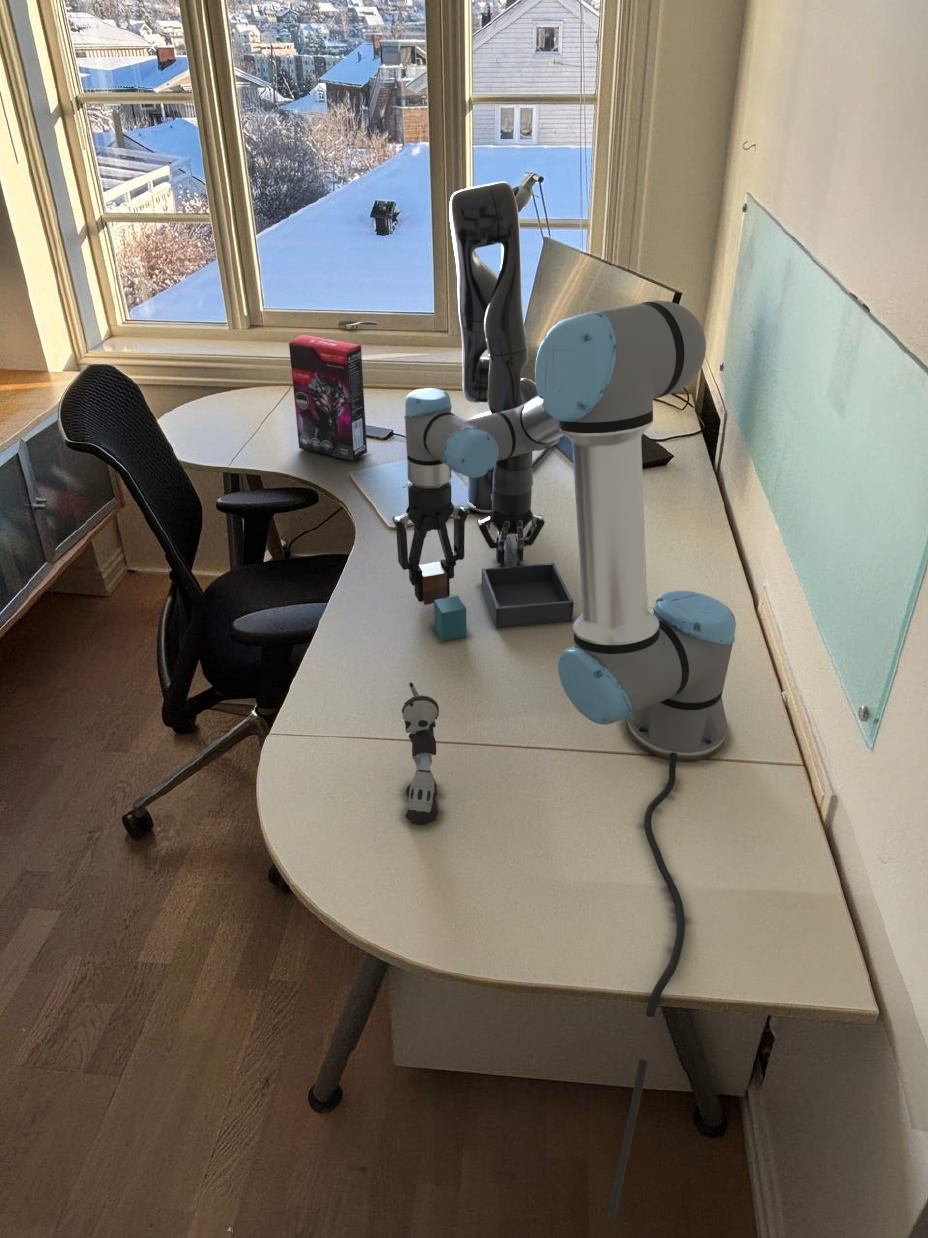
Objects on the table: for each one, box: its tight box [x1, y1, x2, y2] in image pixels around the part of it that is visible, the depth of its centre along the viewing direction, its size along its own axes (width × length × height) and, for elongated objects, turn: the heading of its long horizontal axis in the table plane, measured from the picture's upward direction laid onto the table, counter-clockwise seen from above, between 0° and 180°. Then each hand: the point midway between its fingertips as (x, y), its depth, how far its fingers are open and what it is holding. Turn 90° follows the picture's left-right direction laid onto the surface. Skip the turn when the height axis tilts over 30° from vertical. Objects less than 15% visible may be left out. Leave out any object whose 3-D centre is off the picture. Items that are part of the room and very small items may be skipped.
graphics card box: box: [288, 334, 368, 462], centre depth 223 cm, size 17×7×27 cm, turn 62°
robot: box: [401, 681, 440, 826], centre depth 124 cm, size 20×5×20 cm, turn 3°
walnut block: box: [419, 561, 448, 606], centre depth 170 cm, size 4×4×6 cm
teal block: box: [433, 595, 467, 642], centre depth 163 cm, size 4×4×6 cm
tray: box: [481, 536, 575, 629], centre depth 176 cm, size 24×14×5 cm, turn 10°
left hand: (509, 563), depth 185 cm, fingers closed
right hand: (432, 595), depth 171 cm, fingers closed on walnut block, 4 cm apart
